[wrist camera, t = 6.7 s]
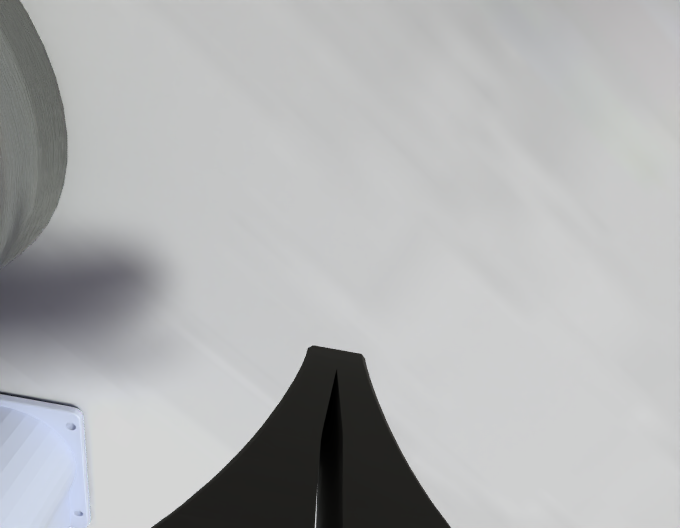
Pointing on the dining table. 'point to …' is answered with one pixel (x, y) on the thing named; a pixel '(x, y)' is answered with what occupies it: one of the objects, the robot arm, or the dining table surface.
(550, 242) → the dining table surface
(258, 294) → the dining table surface
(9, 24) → the cooker pot
